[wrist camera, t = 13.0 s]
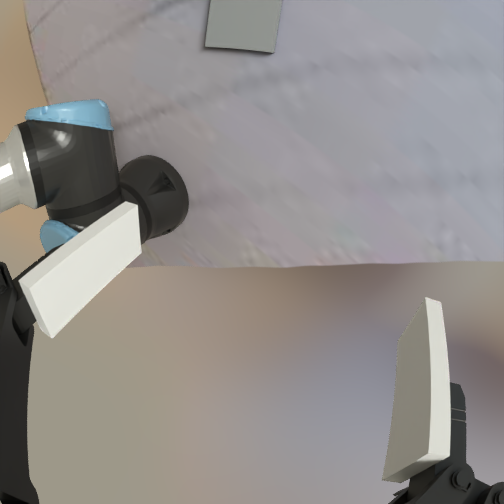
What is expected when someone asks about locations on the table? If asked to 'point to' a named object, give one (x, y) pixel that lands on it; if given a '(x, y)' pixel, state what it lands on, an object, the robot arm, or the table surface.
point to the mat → (243, 24)
